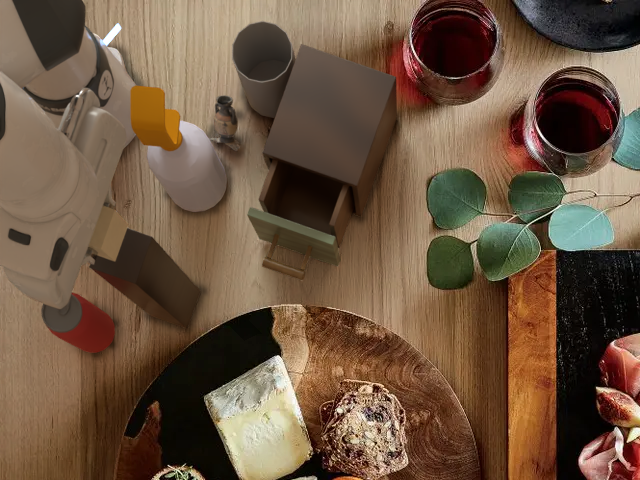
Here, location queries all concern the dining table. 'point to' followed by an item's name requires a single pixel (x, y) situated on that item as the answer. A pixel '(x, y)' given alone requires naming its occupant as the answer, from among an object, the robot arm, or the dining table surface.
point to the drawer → (302, 216)
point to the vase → (225, 122)
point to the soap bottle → (177, 151)
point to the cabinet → (334, 121)
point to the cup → (263, 64)
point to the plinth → (150, 279)
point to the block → (108, 233)
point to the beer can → (80, 324)
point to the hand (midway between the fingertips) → (98, 232)
